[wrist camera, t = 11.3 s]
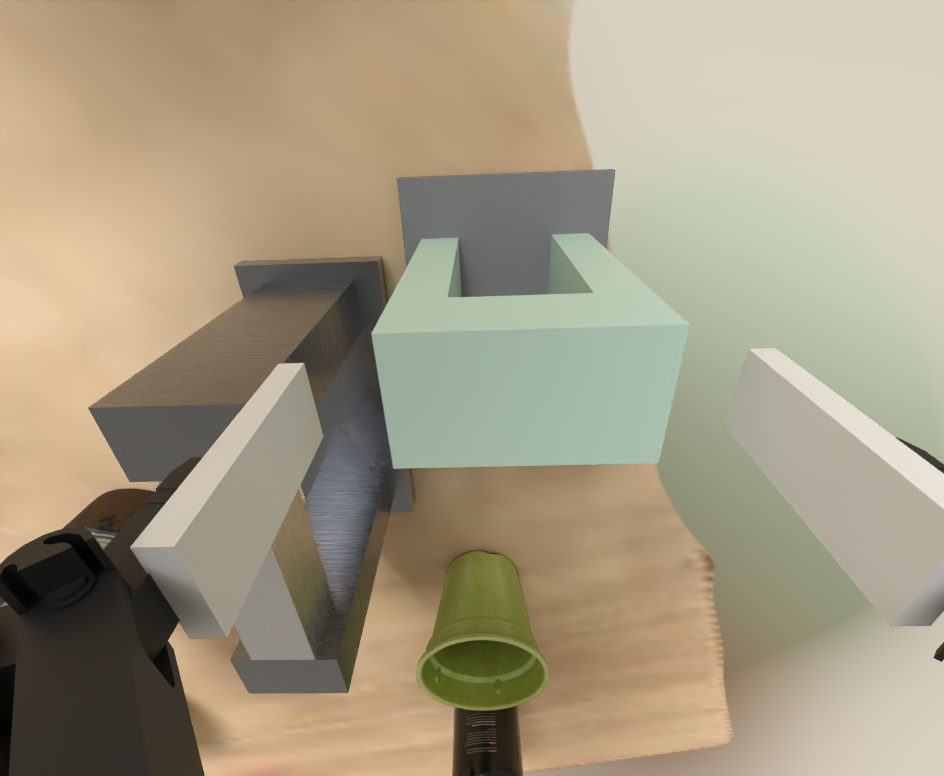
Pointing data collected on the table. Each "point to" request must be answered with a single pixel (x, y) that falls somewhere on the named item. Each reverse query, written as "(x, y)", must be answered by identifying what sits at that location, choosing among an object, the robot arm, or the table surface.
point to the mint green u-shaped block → (527, 364)
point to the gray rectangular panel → (505, 222)
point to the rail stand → (328, 477)
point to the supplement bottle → (487, 743)
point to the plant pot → (482, 639)
